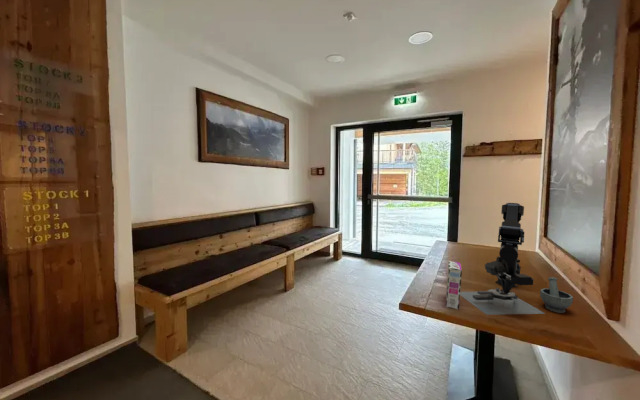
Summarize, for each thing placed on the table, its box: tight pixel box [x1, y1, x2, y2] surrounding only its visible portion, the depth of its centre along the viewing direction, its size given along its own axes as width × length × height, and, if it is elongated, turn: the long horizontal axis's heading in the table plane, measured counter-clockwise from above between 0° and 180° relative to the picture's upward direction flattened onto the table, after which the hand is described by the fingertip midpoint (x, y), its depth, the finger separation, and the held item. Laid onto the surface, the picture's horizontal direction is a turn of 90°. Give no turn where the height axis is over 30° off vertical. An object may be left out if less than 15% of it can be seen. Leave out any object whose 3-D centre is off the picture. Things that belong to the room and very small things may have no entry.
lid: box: [476, 287, 516, 297], centre depth 110 cm, size 14×9×2 cm, turn 94°
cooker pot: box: [473, 294, 519, 308], centre depth 111 cm, size 18×9×3 cm, turn 94°
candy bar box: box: [445, 260, 463, 310], centre depth 110 cm, size 11×5×16 cm, turn 155°
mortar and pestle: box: [539, 276, 574, 314], centre depth 107 cm, size 11×9×12 cm
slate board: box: [460, 291, 546, 316], centre depth 112 cm, size 24×20×1 cm
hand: (505, 293), depth 108 cm, fingers closed, pressing on lid
